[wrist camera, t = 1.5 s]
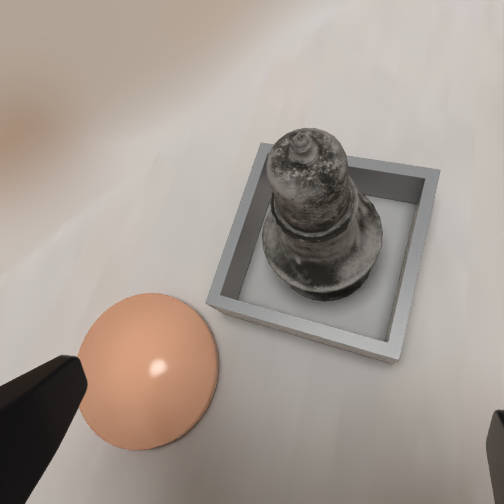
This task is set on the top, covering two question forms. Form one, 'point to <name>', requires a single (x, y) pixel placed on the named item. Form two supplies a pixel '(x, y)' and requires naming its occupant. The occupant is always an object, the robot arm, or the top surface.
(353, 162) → the tub
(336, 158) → the grey tall domed piece
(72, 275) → the top surface
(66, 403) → the robot arm
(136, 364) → the coaster
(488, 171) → the top surface
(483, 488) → the top surface
